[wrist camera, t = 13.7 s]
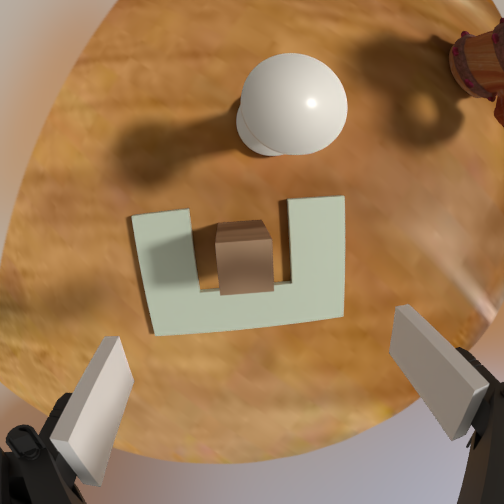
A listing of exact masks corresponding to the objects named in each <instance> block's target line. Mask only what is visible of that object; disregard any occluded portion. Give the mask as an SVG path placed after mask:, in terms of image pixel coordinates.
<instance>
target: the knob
mask: <svg viewBox="0 0 504 504" xmlns="http://www.w3.org/2000/svg"><path fill="white" fill-rule="evenodd" d="M346 116H347V99H346V94H345V91H344V88H343V86H342V84H341V82H340V80H339V79H338V77H337V76H336V75H335V73H334V72H333V71H332V70H331V69H330V68H329V67H327V66H326V65H325V64H324V63H322V62H320V61H319V60H317V59H315V58H312V57H310V56H307V55H302V54H296V53H286V54H279V55H276V56H273V57H270V58H268V59H266V60H264V61H263V62H261V63H260V64H258V65H257V66H256V67H255V68H254V69H253V70H252V72H251V73H250V74H249V76H248V77H247V79H246V81H245V84H244V86H243V90H242V94H241V105H240V107H239V109H238V113H237V118H236V126H237V130H238V134H239V136H240V138H241V139H242V141H243V142H244V143H245V145H246V146H247V147H249V148H250V149H251V150H253V151H255V152H256V153H259V154H262V155H267V156H278V155H283V154H288V155H304V154H310V153H314V152H316V151H319V150H321V149H323V148H325V147H326V146H328V145H329V144H330V143H332V142H333V141H334V140H335V139H336V137H337V136H338V135H339V134H340V132H341V130H342V128H343V126H344V124H345V120H346Z"/></svg>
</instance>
